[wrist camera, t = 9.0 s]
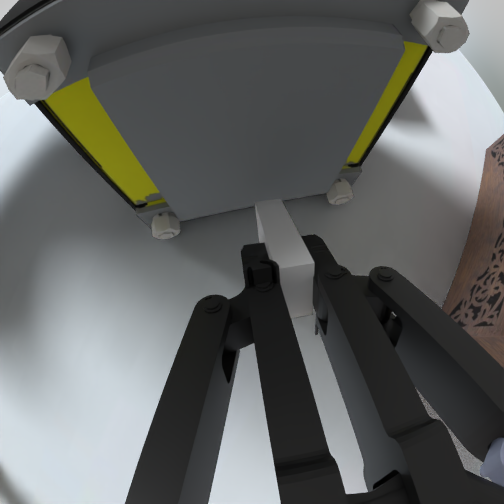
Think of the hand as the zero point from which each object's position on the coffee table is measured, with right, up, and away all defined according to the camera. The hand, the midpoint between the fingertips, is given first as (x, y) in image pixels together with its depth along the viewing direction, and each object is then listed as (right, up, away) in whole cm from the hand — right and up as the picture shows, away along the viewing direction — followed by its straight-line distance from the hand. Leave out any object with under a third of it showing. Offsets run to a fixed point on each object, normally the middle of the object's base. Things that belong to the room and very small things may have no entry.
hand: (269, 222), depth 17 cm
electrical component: (-2, +5, +8) cm, 9 cm away
